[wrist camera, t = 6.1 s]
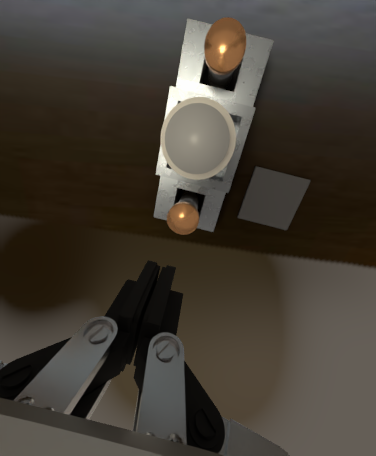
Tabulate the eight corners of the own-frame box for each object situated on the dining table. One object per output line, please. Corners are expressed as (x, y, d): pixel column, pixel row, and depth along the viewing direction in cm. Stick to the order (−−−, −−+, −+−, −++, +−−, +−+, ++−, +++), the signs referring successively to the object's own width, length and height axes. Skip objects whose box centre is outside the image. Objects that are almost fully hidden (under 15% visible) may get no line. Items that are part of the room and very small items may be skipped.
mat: (308, 179, 28) (310, 180, 27) (285, 228, 31) (286, 230, 30) (255, 166, 28) (256, 166, 27) (237, 216, 31) (237, 217, 30)
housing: (190, 39, 23) (182, -12, 16) (263, 57, 23) (288, 15, 16) (159, 209, 32) (145, 227, 24) (212, 222, 32) (213, 244, 24)
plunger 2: (238, 62, 23) (252, 23, 16) (229, 97, 25) (238, 75, 17) (209, 55, 23) (210, 12, 16) (202, 90, 25) (199, 65, 17)
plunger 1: (204, 193, 28) (202, 208, 21) (198, 215, 30) (194, 237, 22) (180, 186, 28) (170, 200, 21) (175, 209, 30) (164, 230, 22)
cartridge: (228, 127, 23) (250, 104, 11) (216, 170, 25) (223, 190, 13) (187, 117, 23) (164, 82, 11) (179, 160, 25) (151, 171, 13)
